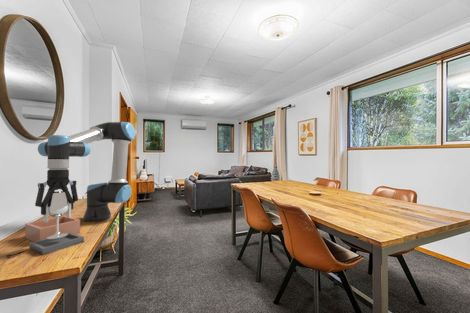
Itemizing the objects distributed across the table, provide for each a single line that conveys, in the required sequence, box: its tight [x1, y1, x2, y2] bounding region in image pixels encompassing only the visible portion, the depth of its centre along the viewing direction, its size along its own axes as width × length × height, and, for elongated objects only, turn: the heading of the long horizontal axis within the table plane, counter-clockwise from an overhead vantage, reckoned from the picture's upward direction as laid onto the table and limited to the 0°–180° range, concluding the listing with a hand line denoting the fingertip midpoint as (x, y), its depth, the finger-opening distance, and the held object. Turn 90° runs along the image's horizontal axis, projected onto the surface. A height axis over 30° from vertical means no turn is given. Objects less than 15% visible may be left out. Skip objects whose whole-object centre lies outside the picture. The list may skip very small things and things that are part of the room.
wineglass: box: [46, 190, 69, 239], centre depth 94 cm, size 8×8×20 cm
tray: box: [29, 232, 85, 256], centre depth 94 cm, size 15×13×2 cm
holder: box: [24, 215, 81, 242], centre depth 106 cm, size 16×16×7 cm
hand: (57, 219), depth 94 cm, fingers closed on wineglass, 8 cm apart
